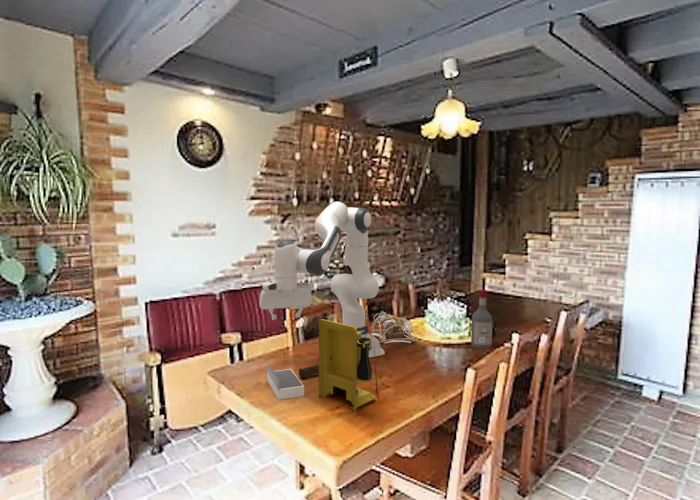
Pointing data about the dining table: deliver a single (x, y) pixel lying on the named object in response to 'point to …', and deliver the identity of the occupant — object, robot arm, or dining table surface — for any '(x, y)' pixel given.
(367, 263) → the robot arm
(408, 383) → the dining table surface
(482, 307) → the liquor
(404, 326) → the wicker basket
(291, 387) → the grey open box
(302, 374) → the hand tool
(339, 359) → the vintage telephone
